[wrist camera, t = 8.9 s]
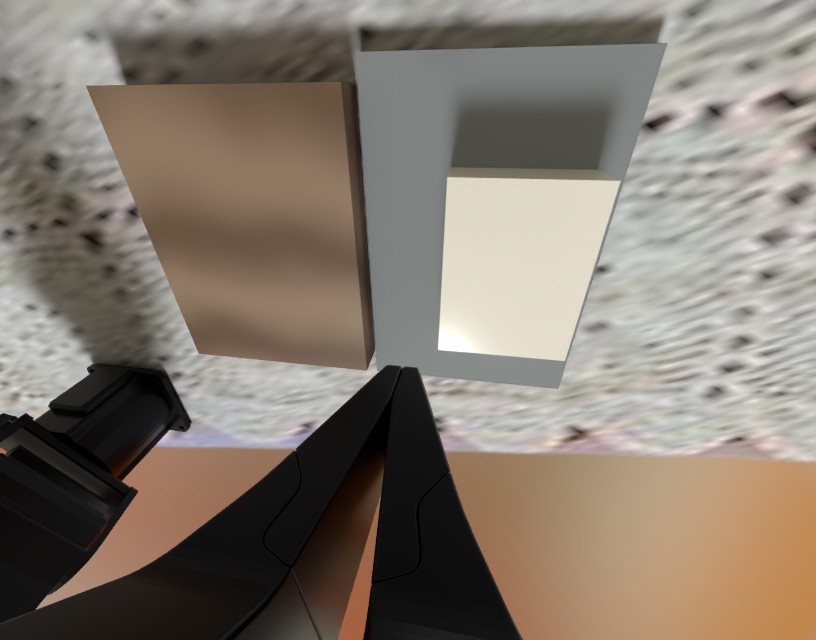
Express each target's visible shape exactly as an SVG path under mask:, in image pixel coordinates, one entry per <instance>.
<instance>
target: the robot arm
mask: <svg viewBox="0 0 816 640" xmlns="http://www.w3.org/2000/svg"><path fill="white" fill-rule="evenodd" d="M87 370H88V372H89V374H90V375H88V376H87V377H85V378H84V379H83V380H81V381H80V382H78V383H77V384H75V385H74V386H73V387H71V388H70V389H68V390H67V391H66V392H64V393H63V394H61V395H60V396H58V397H57V398H56V399H54V400H53V401H51V402H50V404H49V405H48V407H49V408H50V410H48V411H47V412H46V413H44V414H43V415H41V416H40V417H39V418H37V419H36V420H32V419H34V418H33V417H31V416H30V415H28V414H27V413H25V414H24V415H22V416H20V417H19V418H17V417H16V416H11V415H8V414H5V413H3V414H1V415H0V448H2V449H4V450H5V451H7V453H5V454H3V453H0V640H337V639H338V636H339V632H340V629H341V626H342V622H343V619H344V616H345V612H346V609H347V606H348V602H349V599H350V595H351V592H352V589H353V585H354V582H355V579H356V575H357V572H358V569H359V565H360V562H361V559H362V555H363V552H364V548H365V545H366V541H367V538H368V535H369V532H370V528H371V525H372V522H373V518H374V515H375V511H376V508H377V505H378V501H379V498H380V495H381V501H380V510H379V518H378V528H377V536H376V545H375V554H374V563H373V572H372V582H371V583H372V586H371V590H370V598H369V607H368V613H367V620H366V626H365V633H364V638H363V640H523V639H522V637H521V635H520V633H519V631H518V629H517V627H516V625H515V623H514V621H513V619H512V617H511V615H510V613H509V611H508V609H507V607H506V605H505V602H504V600H503V598H502V596H501V593H500V591H499V589H498V587H497V585H496V583H495V580H494V578H493V576H492V574H491V572H490V569H489V567H488V565H487V563H486V561H485V558H484V556H483V554H482V552H481V550H480V547H479V546H478V543H477V541H476V539H475V537H474V534H473V532H472V529H471V527H470V524H469V522H468V520H467V517H466V515H465V513H464V510H463V507H462V504H461V501H460V498H459V495H458V492H457V490H456V486H455V483H454V480H453V477H452V474H451V473H450V468H449V464H448V461H447V458H446V455H445V451H444V448H443V445H442V442H441V439H440V435H439V432H438V429H437V426H436V422H435V419H434V416H433V413H432V410H431V406H430V403H429V400H428V397H427V393H426V390H425V387H424V384H423V380H422V377H421V374H420V371H419V369H418V368H417V367H408V366H405V367H403V368H402V367H401V366H398V365H386V366H385V367H384V368H383V369H382V370H381V371H380V372H379V373H377V374H376V375H375V376H374V377H373V378H372V379H371V380H370V381H369V382H368V383H367V384H366V385H364V386H363V387H362V388H361V389H360V390H359V391H358V392H357V393H356V394H355V395H354V396H353V397H351V398H350V399H349V400H348V401H347V402H346V403H345V404H344V405H343V406H342V407H341V408H339V409H338V410H337V411H336V412H335V413H334V414H333V415H332V416H331V417H330V418H329V419H328V420H326V421H325V422H324V423H323V424H322V425H321V426H320V427H319V428H318V429H317V430H316V431H315V432H313V433H312V434H311V435H310V436H309V437H308V438H307V439H306V440H305V441H304V442H303V443H302V444H300V445H299V446H298V447H297V448H296V451H293V452H292V453H291V454H290V455H288V456H287V457H286V458H285V459H284V460H283V461H282V462H281V463H280V464H278V465H277V466H276V467H275V468H274V469H273V470H272V471H271V472H269V473H268V474H267V475H266V476H265V477H264V478H263V479H261V480H260V481H259V482H258V483H256V484H255V485H254V486H253V487H252V488H250V489H249V490H248V491H246V492H245V493H244V494H243V495H241V496H240V497H239V498H238V499H236V500H235V501H234V502H233V503H231V504H230V505H229V506H227V507H226V508H225V509H223V510H222V511H221V512H220V513H218V514H217V515H216V516H214V517H213V518H212V519H211V520H209V521H208V522H207V523H205V524H204V525H203V526H201V527H200V528H199V529H197V530H196V531H195V532H194V533H192V534H191V535H190V536H188V537H187V538H186V539H184V540H183V541H182V542H181V543H179V544H178V545H177V546H175V547H174V548H172V549H171V550H170V551H168V552H167V553H166V554H164V555H163V556H161V557H159V558H158V559H156V560H155V561H153V562H152V563H150V564H148V565H146V566H144V567H143V568H141V569H139V570H137V571H135V572H133V573H131V574H129V575H126V576H124V577H122V578H119V579H116V580H114V581H111V582H108V583H106V584H103V585H101V586H98V587H95V588H92V589H90V590H87V591H85V592H82V593H79V594H77V595H74V596H71V597H69V598H66V599H63V600H61V601H58V602H55V603H53V604H50V605H48V606H45V607H42V608H39V609H37V610H35V609H36V608H37V607H38V606H39V604H40V603H41V602H42V601H43V599H44V598H45V597H46V596H47V595H50V594H52V593H53V592H55V591H56V590H58V589H59V588H61V587H62V586H63V585H64V584H66V582H68V581H69V580H70V579H71V578H72V577H73V576H74V575H75V574H76V573H77V572H78V571H79V570H80V569H81V568H82V567H83V566H84V565H85V564H86V563H87V562H88V561H89V560H90V558H91V557H92V556H93V555H94V554H95V552H96V551H97V550H98V548H99V547H100V545H101V544H102V543H103V541H104V540H105V538H106V537H107V536H108V534H109V533H110V531H111V530H112V529H113V527H114V525H115V524H116V523H117V521H118V520H119V519H120V517H121V516H122V514H123V513H124V511H125V510H126V508H127V507H128V506H129V504H130V503H131V501H132V500H133V498H134V497H135V496H136V494H137V493H138V490H136V489H135V488H133V487H129V486H128V485H126V484H125V483H123V482H122V480H123V479H124V478H125V477H126V476H127V475H128V474H129V473H130V472H131V471H132V470H133V468H134V467H135V466H136V465H137V464H138V463H139V462H140V461H141V460H142V459H143V458H144V457H145V456H146V454H147V453H148V452H149V451H150V450H151V449H152V448H153V447H154V446H155V445H156V444H157V443H158V442H159V441H160V439H161V438H162V437H163V436H164V435H165V434H166V433H167V432H168V431H169V430H175V431H182V432H186V431H187V430H188V429H189V428H190V427H191V425H190V423H189V421H188V419H187V417H186V415H185V413H184V411H183V409H182V407H181V406H180V404H179V402H178V400H177V398H176V396H175V394H174V392H173V390H172V388H171V386H170V384H169V382H168V380H167V378H166V376H165V375H164V374H163V373H162V372H160V371H157V370H148V369H139V368H130V367H121V366H112V365H102V364H92V365H91V366H89V367H88V368H87ZM381 491H382V492H381Z"/></svg>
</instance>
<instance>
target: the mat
mask: <svg viewBox="0 0 816 640" xmlns="http://www.w3.org/2000/svg"><path fill="white" fill-rule="evenodd" d="M666 46H667V43H654V44H619V45H583V46H547V47H512V48H476V49H440V50H404V51H369V52H356V66H357V81H358V95H359V110H360V125H361V139H362V154H363V168H364V183H365V197H366V212H367V226H368V241H369V256H370V270H371V285H372V299H373V314H374V328H375V343H376V358H377V371H381V370H382V369H383V368H384V367H385V366H386V365H398V366H401V367H402V368H403V367H405V366H408V367H417V368H418V369H419V371H420V374H421V375H425V376H435V377H445V378H455V379H465V380H475V381H485V382H495V383H505V384H514V385H524V386H534V387H544V388H554V389H558V388H559V385H560V381H561V378H562V375H563V372H564V369H565V366H566V362H567V359H568V356H569V353H570V350H571V347H572V343H573V340H574V337H575V334H576V331H577V328H578V324H579V321H580V318H581V315H582V312H583V309H584V305H585V302H586V299H587V296H588V293H589V290H590V286H591V283H592V280H593V277H594V274H595V271H596V267H597V264H598V261H599V258H600V255H601V252H602V248H603V245H604V242H605V239H606V236H607V233H608V229H609V226H610V223H611V220H612V217H613V213H614V210H615V207H616V204H617V201H618V198H619V194H620V191H621V188H622V185H623V182H624V179H625V175H626V172H627V169H628V166H629V163H630V160H631V156H632V153H633V150H634V147H635V144H636V141H637V137H638V134H639V131H640V128H641V125H642V122H643V118H644V115H645V112H646V109H647V106H648V103H649V99H650V96H651V93H652V90H653V87H654V84H655V80H656V77H657V74H658V71H659V68H660V65H661V61H662V58H663V55H664V52H665V49H666ZM450 167H464V168H523V169H582V170H599V171H601V172H604V173H606V174H608V175H610V176H612V177H614V178H616V179H618V180H620V181H621V182H620V185H619V188H618V191H617V195H616V198H615V201H614V204H613V207H612V211H611V214H610V217H609V220H608V224H607V227H606V230H605V233H604V236H603V240H602V243H601V246H600V249H599V253H598V256H597V259H596V262H595V266H594V269H593V272H592V275H591V278H590V282H589V285H588V288H587V291H586V295H585V298H584V301H583V304H582V307H581V311H580V314H579V317H578V320H577V324H576V327H575V330H574V333H573V336H572V340H571V343H570V346H569V349H568V353H567V356H566V359H565V361H558V360H547V359H536V358H525V357H514V356H502V355H491V354H480V353H469V352H458V351H446V350H438V343H439V324H440V305H441V286H442V267H443V248H444V229H445V210H446V191H447V176H448V173H449V170H450Z"/></svg>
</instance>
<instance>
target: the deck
mask: <svg viewBox="0 0 816 640" xmlns="http://www.w3.org/2000/svg"><path fill="white" fill-rule="evenodd" d="M86 87H87V89H88V92H89V94H90V96H91V99H92V101H93V103H94V106H95V108H96V111H97V113H98V115H99V118H100V120H101V122H102V125H103V127H104V130H105V132H106V134H107V137H108V139H109V141H110V144H111V146H112V149H113V151H114V153H115V156H116V158H117V160H118V163H119V165H120V168H121V170H122V172H123V175H124V177H125V179H126V182H127V184H128V186H129V189H130V191H131V194H132V196H133V198H134V201H135V203H136V205H137V208H138V210H139V213H140V215H141V217H142V220H143V222H144V224H145V227H146V229H147V232H148V234H149V236H150V239H151V241H152V243H153V246H154V248H155V251H156V253H157V255H158V258H159V260H160V262H161V265H162V267H163V269H164V272H165V274H166V277H167V279H168V281H169V284H170V286H171V288H172V291H173V293H174V296H175V298H176V300H177V303H178V305H179V307H180V310H181V312H182V315H183V317H184V319H185V322H186V324H187V326H188V329H189V331H190V334H191V336H192V338H193V341H194V343H195V345H196V348H197V350H198V353H199V354H209V355H219V356H229V357H239V358H249V359H259V360H268V361H278V362H288V363H298V364H308V365H318V366H328V367H338V368H348V369H357V370H367V369H368V366H369V364H370V361H371V359H372V356H373V354H374V351H375V345H374V331H373V316H372V302H371V288H370V274H369V260H368V246H367V232H366V218H365V204H364V189H363V175H362V161H361V147H360V133H359V119H358V105H357V91H356V85H354V84H349V83H344V82H296V83H233V84H170V85H107V86H86Z"/></svg>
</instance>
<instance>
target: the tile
mask: <svg viewBox="0 0 816 640" xmlns="http://www.w3.org/2000/svg"><path fill="white" fill-rule="evenodd" d="M620 182H621V181H620V180H618V179H616V178H614V177H612V176H610V175H608V174H606V173H604V172H601V171H599V170H582V169H523V168H464V167H450V170H449V173H448V176H447V191H446V210H445V229H444V248H443V267H442V286H441V305H440V324H439V343H438V350H446V351H458V352H469V353H480V354H491V355H502V356H514V357H525V358H536V359H547V360H558V361H565V359H566V356H567V353H568V349H569V346H570V343H571V340H572V336H573V333H574V330H575V327H576V324H577V320H578V317H579V314H580V311H581V307H582V304H583V301H584V298H585V295H586V291H587V288H588V285H589V282H590V278H591V275H592V272H593V269H594V266H595V262H596V259H597V256H598V253H599V249H600V246H601V243H602V240H603V236H604V233H605V230H606V227H607V224H608V220H609V217H610V214H611V211H612V207H613V204H614V201H615V198H616V195H617V191H618V188H619V185H620Z"/></svg>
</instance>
